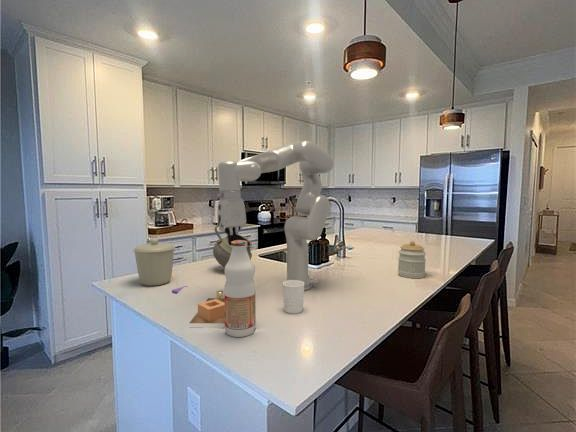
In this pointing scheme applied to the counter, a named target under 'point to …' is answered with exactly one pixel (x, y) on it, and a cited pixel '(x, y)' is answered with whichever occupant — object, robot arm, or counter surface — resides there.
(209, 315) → the collar
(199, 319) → the walnut board
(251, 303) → the fruit juice
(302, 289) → the white cup
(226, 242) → the pot
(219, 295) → the short gold cylinder
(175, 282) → the counter surface
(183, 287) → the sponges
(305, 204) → the robot arm
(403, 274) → the jar
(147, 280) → the canister
